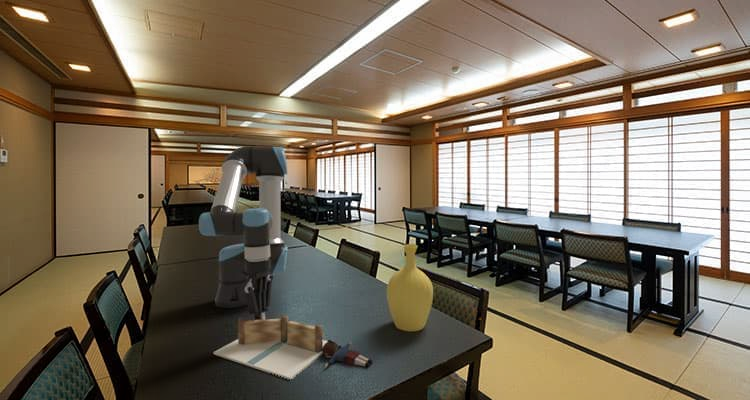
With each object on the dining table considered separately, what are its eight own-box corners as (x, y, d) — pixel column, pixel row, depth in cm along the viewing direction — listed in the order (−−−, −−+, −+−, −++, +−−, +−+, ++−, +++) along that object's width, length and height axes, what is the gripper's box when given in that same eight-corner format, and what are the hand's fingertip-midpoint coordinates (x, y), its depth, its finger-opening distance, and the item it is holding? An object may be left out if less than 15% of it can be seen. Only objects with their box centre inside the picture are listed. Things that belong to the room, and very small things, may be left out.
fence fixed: (286, 343, 98) (286, 320, 98) (291, 340, 100) (291, 317, 100) (319, 352, 93) (319, 328, 93) (324, 349, 95) (324, 325, 95)
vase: (427, 339, 104) (429, 251, 102) (380, 330, 109) (380, 248, 108) (436, 319, 119) (437, 243, 117) (394, 312, 124) (394, 240, 123)
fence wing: (288, 337, 101) (288, 315, 101) (288, 341, 99) (287, 318, 99) (239, 340, 99) (239, 317, 99) (237, 344, 97) (237, 320, 97)
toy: (380, 357, 95) (336, 343, 101) (381, 342, 94) (337, 328, 101) (357, 384, 82) (309, 366, 88) (359, 366, 82) (310, 349, 88)
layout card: (213, 354, 94) (213, 351, 94) (264, 326, 112) (264, 324, 112) (290, 380, 82) (290, 377, 82) (334, 344, 100) (334, 342, 100)
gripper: (259, 253, 108) (262, 322, 109) (233, 263, 96) (237, 341, 97) (279, 254, 106) (282, 325, 108) (255, 264, 94) (259, 344, 95)
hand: (260, 332), depth 102 cm, fingers closed
